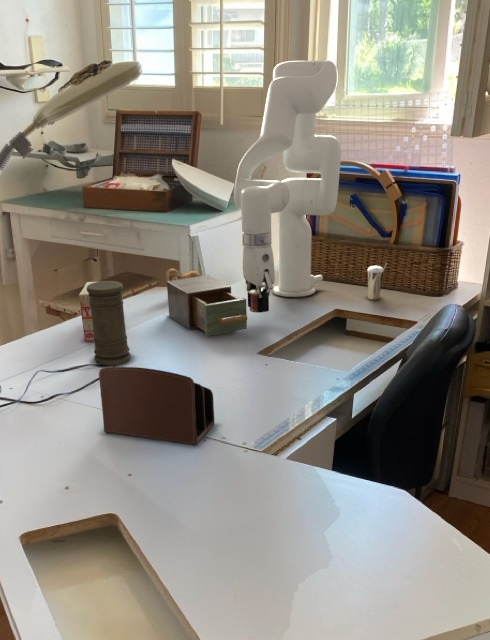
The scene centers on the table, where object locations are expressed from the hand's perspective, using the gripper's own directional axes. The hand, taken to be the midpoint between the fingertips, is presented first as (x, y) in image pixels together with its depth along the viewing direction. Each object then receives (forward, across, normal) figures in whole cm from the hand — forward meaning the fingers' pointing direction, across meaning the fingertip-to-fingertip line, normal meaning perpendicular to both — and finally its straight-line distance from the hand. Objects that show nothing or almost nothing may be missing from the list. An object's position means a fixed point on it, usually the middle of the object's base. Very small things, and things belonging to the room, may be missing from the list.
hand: (258, 308), depth 219 cm
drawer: (+2, -3, +13) cm, 13 cm away
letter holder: (+2, -54, +50) cm, 74 cm away
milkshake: (+5, +2, -39) cm, 40 cm away
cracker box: (+3, +16, +39) cm, 42 cm away
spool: (0, 0, 0) cm, 0 cm away
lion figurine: (+4, +34, +7) cm, 35 cm away
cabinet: (+4, +10, +13) cm, 17 cm away
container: (+3, -9, +45) cm, 46 cm away
